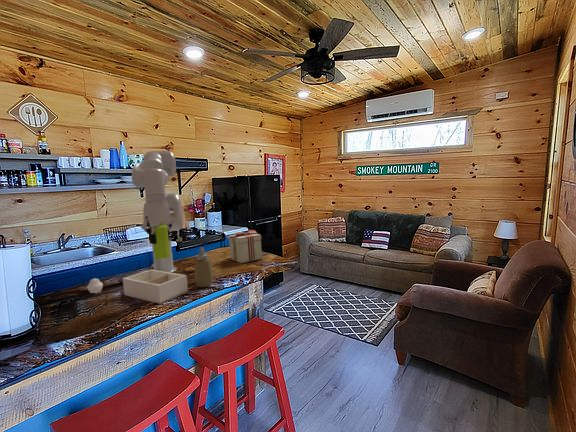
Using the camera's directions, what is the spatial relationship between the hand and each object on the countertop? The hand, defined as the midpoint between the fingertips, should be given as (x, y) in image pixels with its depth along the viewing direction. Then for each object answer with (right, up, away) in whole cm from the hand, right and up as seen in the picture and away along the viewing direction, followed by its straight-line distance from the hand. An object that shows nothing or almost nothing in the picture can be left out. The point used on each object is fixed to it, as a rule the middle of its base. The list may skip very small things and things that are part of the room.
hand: (160, 241), depth 127 cm
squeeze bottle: (+15, -22, +13) cm, 30 cm away
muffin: (-33, -24, +10) cm, 42 cm away
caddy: (-4, -23, +6) cm, 24 cm away
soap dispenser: (0, -7, +1) cm, 7 cm away
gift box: (+27, -16, +58) cm, 66 cm away
